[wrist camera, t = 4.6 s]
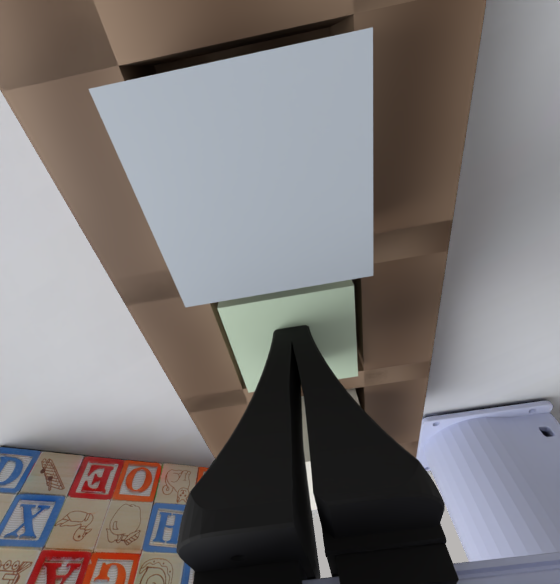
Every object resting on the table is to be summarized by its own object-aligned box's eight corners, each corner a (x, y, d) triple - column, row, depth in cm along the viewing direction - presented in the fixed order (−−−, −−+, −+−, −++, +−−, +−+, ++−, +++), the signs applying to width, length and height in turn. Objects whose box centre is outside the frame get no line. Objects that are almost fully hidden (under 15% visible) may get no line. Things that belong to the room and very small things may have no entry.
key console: (424, -85, 9) (511, -166, 6) (394, 403, 23) (416, 458, 20) (40, 5, 10) (-66, -23, 7) (233, 426, 24) (229, 483, 21)
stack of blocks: (9, 481, 27) (-136, 720, 17) (-3, 443, 24) (-191, 712, 14) (250, 502, 32) (245, 700, 22) (268, 472, 29) (272, 691, 19)
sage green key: (335, 242, 14) (354, 285, 11) (342, 325, 17) (358, 376, 14) (225, 261, 14) (217, 308, 12) (250, 340, 17) (248, 392, 15)
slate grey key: (334, 40, 8) (373, 27, 5) (345, 222, 11) (373, 276, 8) (145, 80, 8) (88, 89, 6) (204, 247, 11) (185, 307, 9)
